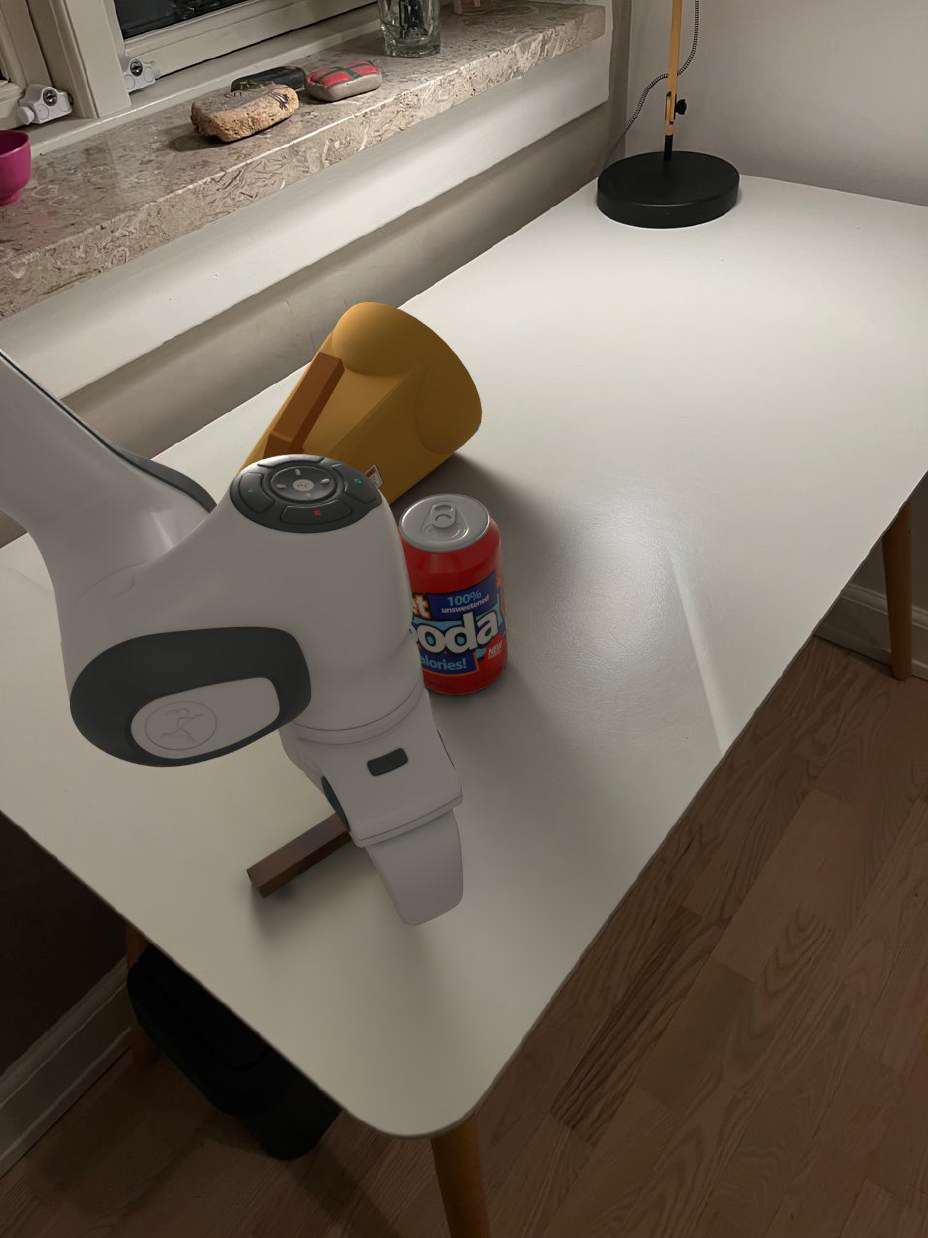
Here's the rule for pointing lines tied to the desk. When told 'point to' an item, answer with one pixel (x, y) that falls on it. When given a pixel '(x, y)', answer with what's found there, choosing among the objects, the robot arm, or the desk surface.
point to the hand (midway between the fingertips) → (380, 842)
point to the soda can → (455, 592)
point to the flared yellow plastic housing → (378, 401)
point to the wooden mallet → (298, 855)
